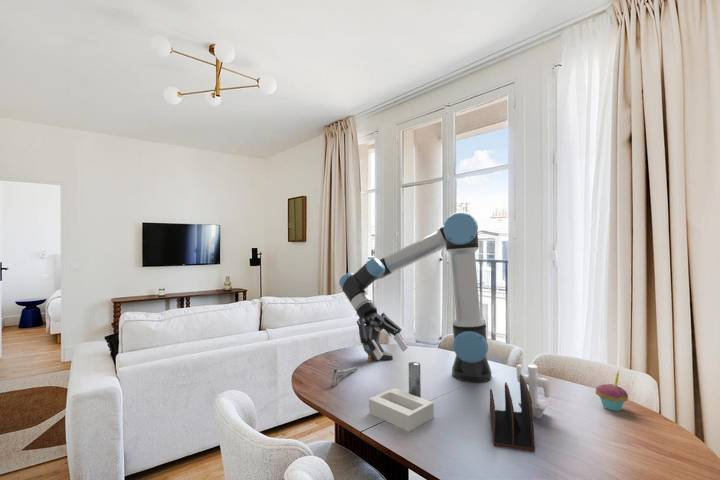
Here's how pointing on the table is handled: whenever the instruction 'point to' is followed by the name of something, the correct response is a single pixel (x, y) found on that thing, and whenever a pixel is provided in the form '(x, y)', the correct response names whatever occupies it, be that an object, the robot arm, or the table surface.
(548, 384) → the figurine
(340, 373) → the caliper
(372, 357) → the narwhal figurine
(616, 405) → the cupcake
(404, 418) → the block
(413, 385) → the pin
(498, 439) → the letter holder
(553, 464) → the table surface
